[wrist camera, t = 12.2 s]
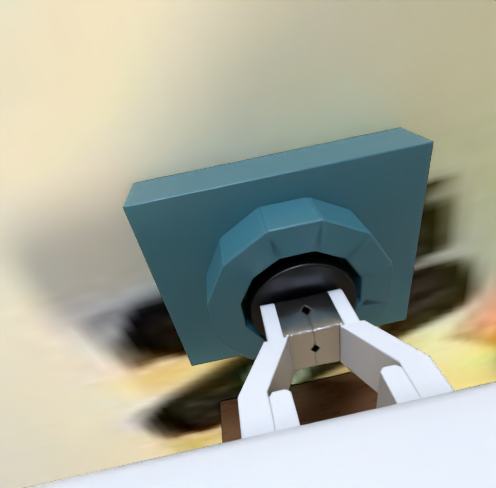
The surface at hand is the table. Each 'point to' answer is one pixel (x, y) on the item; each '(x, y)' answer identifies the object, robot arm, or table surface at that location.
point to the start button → (298, 282)
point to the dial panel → (312, 402)
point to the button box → (282, 232)
